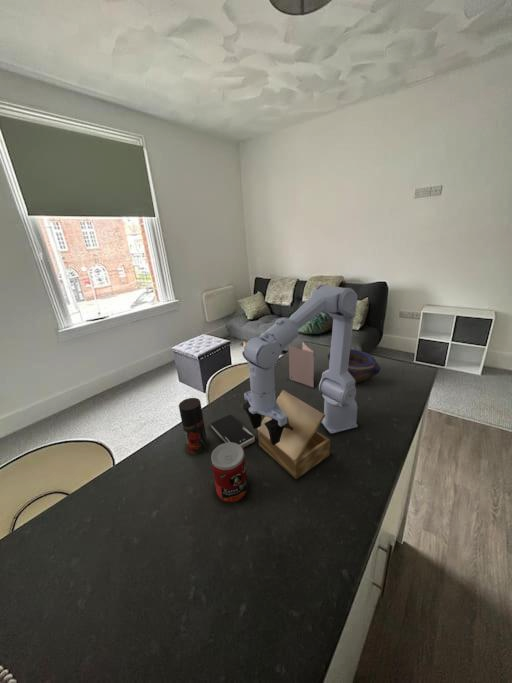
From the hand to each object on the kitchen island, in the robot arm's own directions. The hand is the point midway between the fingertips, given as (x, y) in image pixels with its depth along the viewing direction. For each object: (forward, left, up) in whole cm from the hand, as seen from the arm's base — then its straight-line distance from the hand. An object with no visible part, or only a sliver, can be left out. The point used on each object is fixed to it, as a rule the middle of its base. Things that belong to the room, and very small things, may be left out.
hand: (266, 434), depth 70 cm
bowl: (-46, -32, -11) cm, 58 cm away
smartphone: (+6, -16, -11) cm, 20 cm away
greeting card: (-26, -37, -11) cm, 47 cm away
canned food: (+10, +4, -11) cm, 15 cm away
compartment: (-8, -3, -10) cm, 14 cm away
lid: (-8, -3, -1) cm, 8 cm away
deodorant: (+18, -14, -11) cm, 25 cm away
